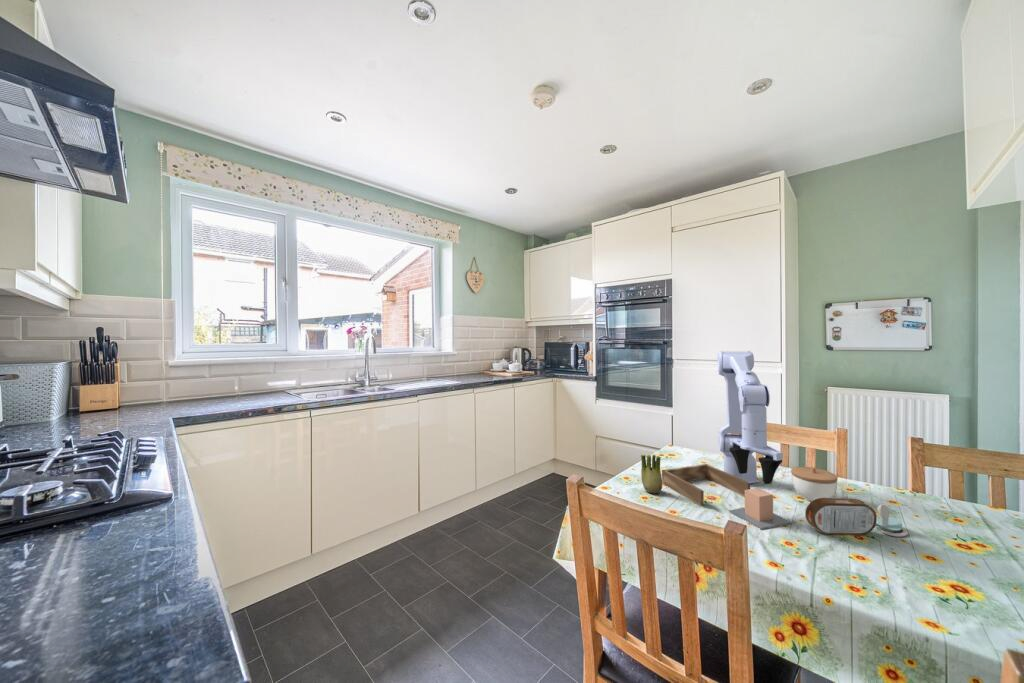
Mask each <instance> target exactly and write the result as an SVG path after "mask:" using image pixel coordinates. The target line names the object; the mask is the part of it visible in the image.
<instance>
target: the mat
mask: <svg viewBox="0 0 1024 683" xmlns="http://www.w3.org/2000/svg"><path fill="white" fill-rule="evenodd" d="M728 513H730V514H732V515H734V516H736V517H738V518H740V519H741V520H743V519H744V520H743V521H745V520H746V521H745V522H747V521H748V522H749V523H748V522H747V523H748V524H750V523H751V524H750V525H752V524H753V525H752V526H754V527H755V528H757V527H758V528H757V529H759V528H760V529H759V530H761V529H762V530H765V528H767V529H771V528H770V527H772V528H775V527H774V526H777V527H781V526H780V525H782V526H786V524H787V525H792V524H793V523H792V521H790V520H788V519H786V518H785V517H783V516H780V515H779V514H777V513H774V512H773V519H769V520H764V521H758V520H756V519H755V518H753V517H751V516H749V515H747V514H745V507H740V508H735V509H729V510H728ZM791 523H792V524H791Z"/></svg>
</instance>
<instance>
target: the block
mask: <svg viewBox="0 0 1024 683" xmlns="http://www.w3.org/2000/svg"><path fill="white" fill-rule="evenodd" d="M773 499H774V495H773V494H772V493H770V492H768V491H765V490H763V489H761V488H759V487H754V488H750V489H748V490H745V497H744V508H745V514H747V515H749V516H751V517H753V518H755V519H756V520H758V521H764V520H769V519H773V513H774V500H773Z"/></svg>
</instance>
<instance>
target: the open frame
mask: <svg viewBox="0 0 1024 683" xmlns="http://www.w3.org/2000/svg"><path fill="white" fill-rule="evenodd" d="M661 477H662V483H663V484H662V485H664V484H665V485H664V486H666V487H667V486H668V488H669V487H670V488H669V489H670V490H672V491H674V492H676V493H677V494H679V495H681V496H683V497H684V498H686V499H688V500H689V501H691V502H693V503H694V504H696V505H698V506H699V507H704V503H705V500H704V499H705V498H704V490H703V489H701V488H699V487H697V486H696V485H694V484H693V483H690V482H691V481H696V480H697V479H698V480H703V478H705V479H707V480H709V481H711V482H714V483H715V484H718V485H720V486H722V487H723V488H726V489H728V490H730V491H732V492H734V493H737V494H738V495H740V496H742V497H744V498H745V490H748V489H751V483H749V482H747V481H744V480H742V479H740V478H737V477H735V476H733V475H731V474H728V473H726V472H724V470H721V469H719V468H717V467H714V466H712V465H710V464H707V463H705V464H698V465H690V466H681V467H676V468H668V469H663V470H661Z"/></svg>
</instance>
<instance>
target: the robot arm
mask: <svg viewBox="0 0 1024 683" xmlns="http://www.w3.org/2000/svg"><path fill="white" fill-rule="evenodd" d="M716 358H717V372H718V375H720V376H722V377H724V380H725V394H726V395H725V396H726V397H725V398H726V416H727V417H726V420H727V424H725V425H723V426H722V427H720V428H719V430H718V437H717V444H718V449H719V451H720V452H721V453H723V471H724V472H726V473H728V474H731V475H733V476H735V477H737V478H740V479H742V480H744V481H747V482H749V483H750V484H755V483H760V480H759V479H757V478H758V474H757V472H758V471H757V469H758V468H757V461H756V458H755V456H754V455H753V453H756V454H758V455H761V456H763V457H758V461H759V463H760V467H761V474H762V482H763V484H764V485H771V484H773V480H774V477H775V475H776V472H777V470H778V468H779V467H780V465H781V464H782V463H783V459H784V458H783V452H782V451H779V450H777V449H775V448H773V447H771V446H769V445H768V434H767V433H768V425H767V422H768V421H767V420H768V419H767V418H768V417H767V408H768V407H769V405H770V400H771V398H770V390H769V387H768V385H766V384H762V383H761V381H760V379H759V377H758V374H756V372H754V371H752V370H753V369H754V366H755V356H754V353H753V352H752V351H751V350H747V351H745V350H744V351H737V350H735V351H723V350H720V351H719V352H718V353H717V357H716Z"/></svg>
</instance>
